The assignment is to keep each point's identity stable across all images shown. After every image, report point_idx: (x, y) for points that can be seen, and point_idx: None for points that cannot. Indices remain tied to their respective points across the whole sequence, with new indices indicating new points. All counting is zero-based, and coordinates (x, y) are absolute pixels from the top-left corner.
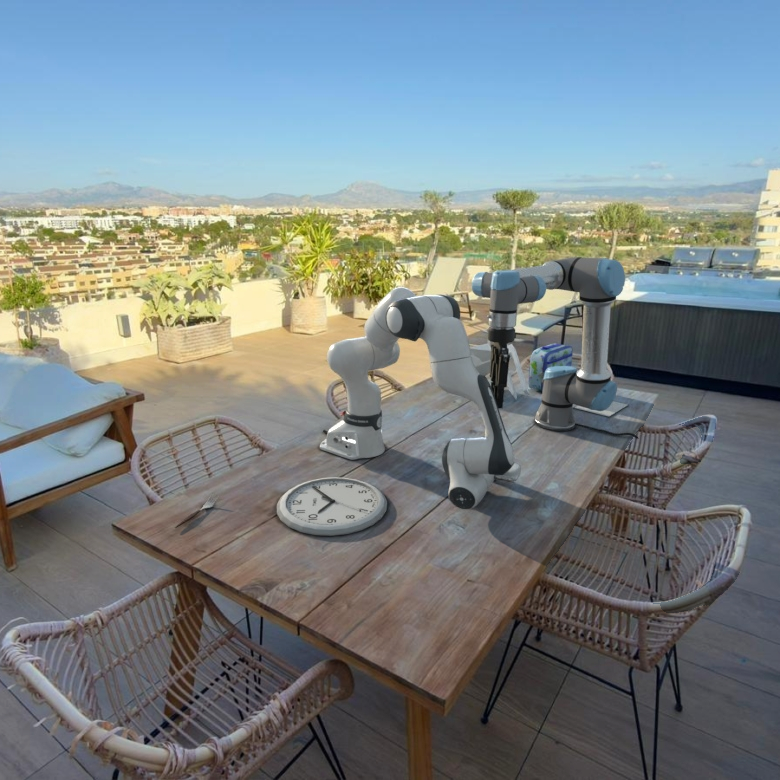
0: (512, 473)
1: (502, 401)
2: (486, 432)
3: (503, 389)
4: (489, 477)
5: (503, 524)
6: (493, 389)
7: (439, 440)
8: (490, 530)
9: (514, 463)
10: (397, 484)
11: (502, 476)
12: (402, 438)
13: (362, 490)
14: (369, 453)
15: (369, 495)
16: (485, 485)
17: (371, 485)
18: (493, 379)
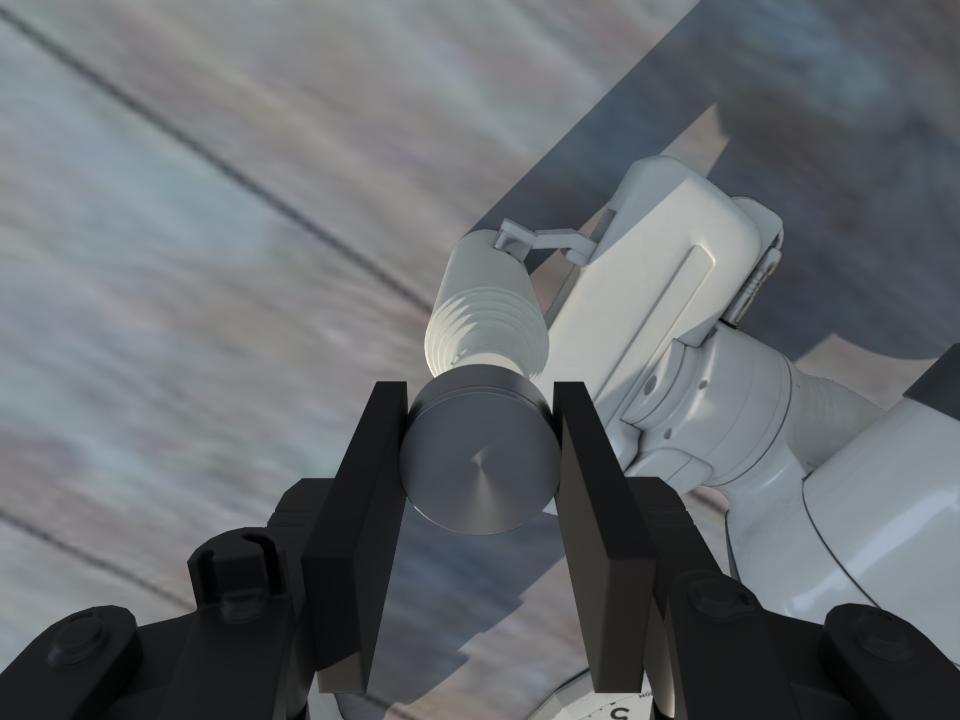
0: (759, 237)
1: (600, 429)
2: None
3: (645, 536)
4: (800, 375)
5: (896, 298)
6: (384, 567)
7: (89, 432)
8: (922, 355)
9: (660, 199)
10: (545, 613)
11: (750, 290)
12: (107, 579)
13: (609, 717)
14: (324, 705)
15: (646, 700)
16: (870, 407)
17: (585, 699)
18: (304, 707)
